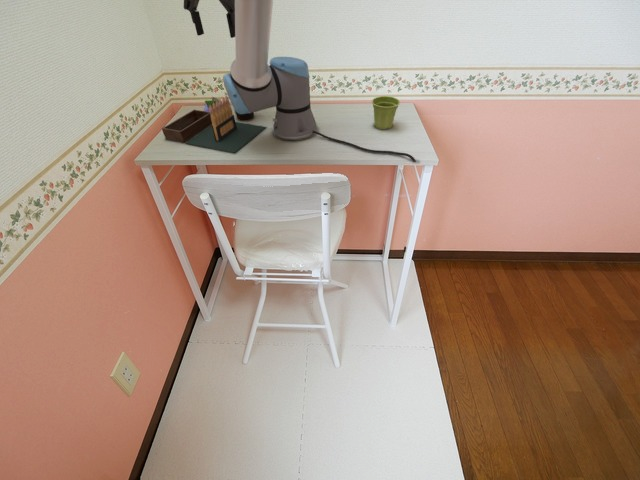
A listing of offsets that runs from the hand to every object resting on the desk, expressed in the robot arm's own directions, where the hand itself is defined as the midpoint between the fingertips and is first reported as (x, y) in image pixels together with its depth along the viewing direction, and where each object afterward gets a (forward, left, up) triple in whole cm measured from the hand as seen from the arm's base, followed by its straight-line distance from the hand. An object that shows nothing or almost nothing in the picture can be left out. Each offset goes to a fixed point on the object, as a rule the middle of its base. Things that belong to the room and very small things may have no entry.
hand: (217, 35), depth 112 cm
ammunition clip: (-9, +17, -26) cm, 33 cm away
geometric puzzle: (+6, +4, -27) cm, 28 cm away
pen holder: (+6, +18, -27) cm, 33 cm away
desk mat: (-9, +17, -27) cm, 33 cm away
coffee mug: (-6, 0, -27) cm, 28 cm away
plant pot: (-58, -8, -27) cm, 64 cm away
